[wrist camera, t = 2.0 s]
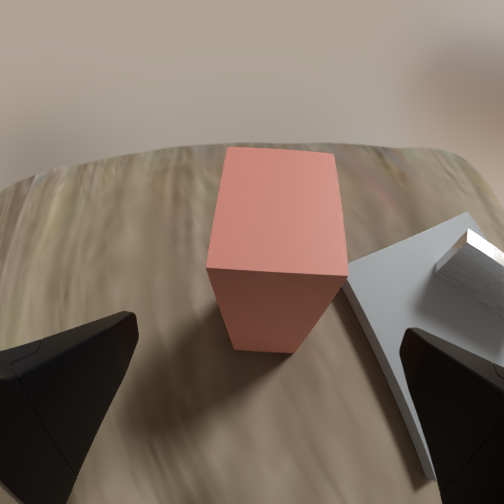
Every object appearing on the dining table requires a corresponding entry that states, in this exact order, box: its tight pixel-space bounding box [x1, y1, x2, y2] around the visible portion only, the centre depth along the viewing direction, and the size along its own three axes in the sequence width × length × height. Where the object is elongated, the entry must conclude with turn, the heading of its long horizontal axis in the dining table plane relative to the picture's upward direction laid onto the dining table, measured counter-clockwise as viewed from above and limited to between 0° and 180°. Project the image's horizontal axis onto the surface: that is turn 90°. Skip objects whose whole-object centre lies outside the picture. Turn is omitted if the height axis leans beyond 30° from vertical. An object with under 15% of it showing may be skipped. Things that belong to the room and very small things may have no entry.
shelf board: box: [342, 211, 504, 481], centre depth 18 cm, size 18×16×2 cm
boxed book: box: [206, 147, 349, 353], centre depth 15 cm, size 5×4×12 cm
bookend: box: [433, 229, 504, 318], centre depth 17 cm, size 10×1×5 cm, turn 59°
